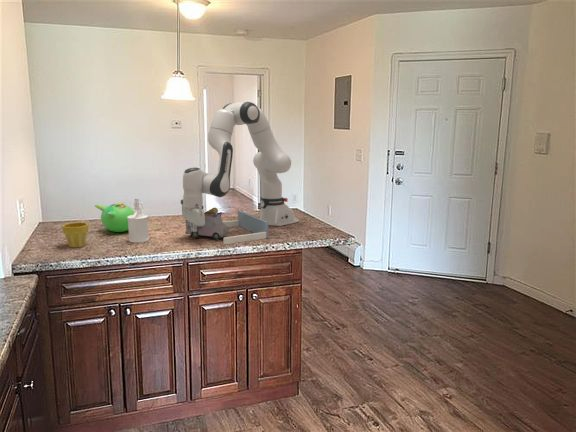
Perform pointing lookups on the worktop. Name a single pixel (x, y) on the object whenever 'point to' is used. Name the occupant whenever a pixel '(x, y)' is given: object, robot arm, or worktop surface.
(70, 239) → the plant pot
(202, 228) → the toy vehicle
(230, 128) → the robot arm
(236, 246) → the worktop surface
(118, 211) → the green round vessel
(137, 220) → the white soap dispenser
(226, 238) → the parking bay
